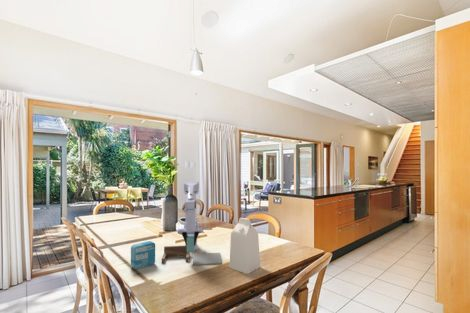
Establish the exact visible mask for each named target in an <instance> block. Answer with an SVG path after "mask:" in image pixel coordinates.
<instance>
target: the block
mask: <svg viewBox="0 0 470 313" xmlns="http://www.w3.org/2000/svg"><path fill="white" fill-rule="evenodd" d="M187 252H190V253H194V252H195V250H194V235H187Z"/></svg>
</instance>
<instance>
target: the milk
mask: <svg viewBox="0 0 470 313" xmlns="http://www.w3.org/2000/svg"><path fill="white" fill-rule="evenodd" d="M230 233H231V234H230V248H229V268H230V269H232V270H233V271H234V270H235V271H236V272H240V273H242V274H246V275H248V274H250V273H252V272H254V271H256V270H257V269H259V268H261V257H260V256H261V255H260V240H259V232H258V230H257V229H256V228H255V226H253V225H252V222H251V220H250V218H244V217H239V218H238V223H237V224H236V225H235V227H234V228H233V229H232V231H231V232H230ZM255 269H256V270H255ZM253 270H254V271H253Z"/></svg>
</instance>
